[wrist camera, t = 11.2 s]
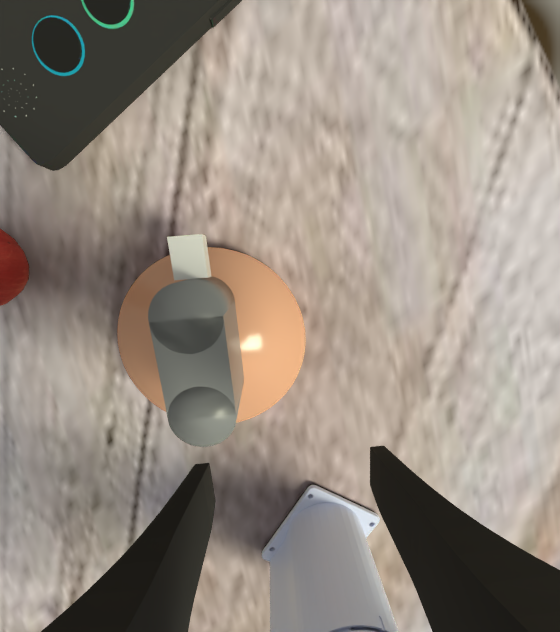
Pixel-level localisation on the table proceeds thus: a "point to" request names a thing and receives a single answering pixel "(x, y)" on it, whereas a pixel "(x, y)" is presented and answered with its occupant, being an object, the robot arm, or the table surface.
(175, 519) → the robot arm
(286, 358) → the plate
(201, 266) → the connector
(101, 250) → the table surface
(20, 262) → the onion
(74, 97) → the smart home device
